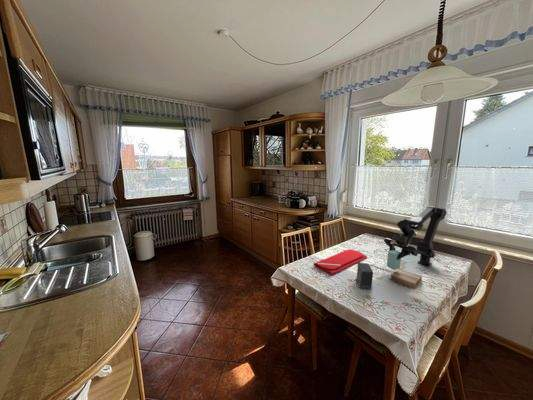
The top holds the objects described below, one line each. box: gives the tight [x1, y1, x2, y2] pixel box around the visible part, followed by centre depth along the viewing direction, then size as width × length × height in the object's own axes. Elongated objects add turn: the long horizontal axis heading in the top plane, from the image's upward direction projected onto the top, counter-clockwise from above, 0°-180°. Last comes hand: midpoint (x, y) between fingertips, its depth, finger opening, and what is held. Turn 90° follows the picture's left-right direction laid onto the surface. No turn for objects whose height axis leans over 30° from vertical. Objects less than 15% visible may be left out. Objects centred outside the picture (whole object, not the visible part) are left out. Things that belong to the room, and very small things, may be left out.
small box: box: [356, 262, 374, 290], centre depth 125 cm, size 11×6×10 cm, turn 168°
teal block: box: [386, 249, 402, 271], centre depth 134 cm, size 5×5×10 cm
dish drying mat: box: [313, 249, 368, 276], centre depth 153 cm, size 16×41×4 cm, turn 127°
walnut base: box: [390, 268, 423, 290], centre depth 129 cm, size 12×12×3 cm
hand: (392, 257), depth 133 cm, fingers closed on teal block, 5 cm apart
